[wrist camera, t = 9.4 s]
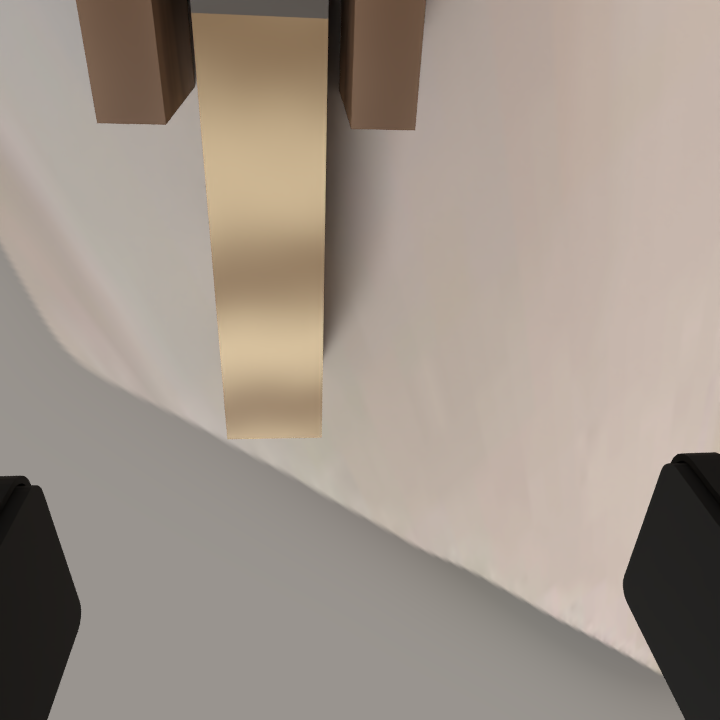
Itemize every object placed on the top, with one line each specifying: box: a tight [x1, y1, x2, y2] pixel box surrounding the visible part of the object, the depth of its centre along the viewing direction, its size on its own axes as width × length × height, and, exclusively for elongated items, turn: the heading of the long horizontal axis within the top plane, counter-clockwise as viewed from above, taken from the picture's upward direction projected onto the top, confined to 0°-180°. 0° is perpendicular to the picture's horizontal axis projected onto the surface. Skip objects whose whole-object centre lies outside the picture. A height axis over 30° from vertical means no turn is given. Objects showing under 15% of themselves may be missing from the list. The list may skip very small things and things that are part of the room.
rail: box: [190, 0, 329, 439], centre depth 25 cm, size 17×4×6 cm, turn 177°
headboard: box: [76, 0, 426, 130], centre depth 17 cm, size 16×7×14 cm, turn 88°
